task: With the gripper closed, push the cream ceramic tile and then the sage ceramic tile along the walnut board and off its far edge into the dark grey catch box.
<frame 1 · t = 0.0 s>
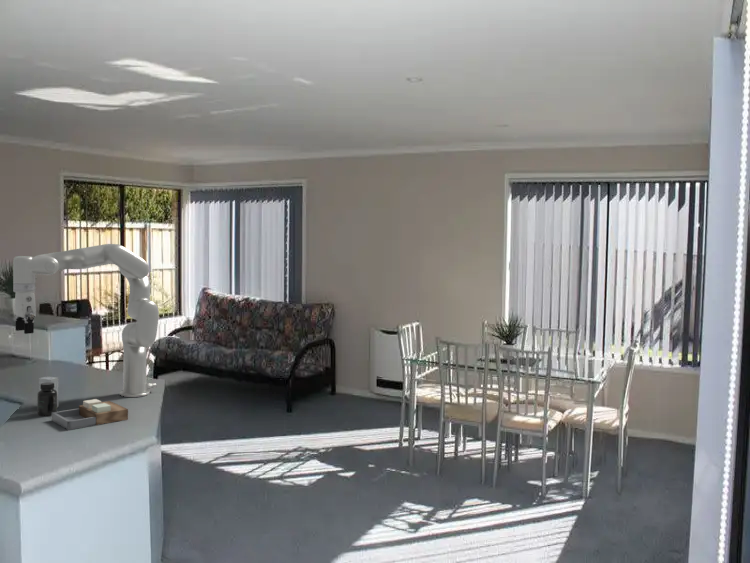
hand: (24, 331, 254), 31 cm above the table, tool pointing down, fingers open, 9 cm apart
catch box: (73, 422, 242), on the table
tile sage: (101, 410, 245), point 4 cm above the table, touching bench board
supplement bottle: (47, 414, 253), on the table
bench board: (103, 417, 250), on the table
tile cream: (92, 406, 251), point 4 cm above the table, touching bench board
skincare box: (48, 407, 262), on the table
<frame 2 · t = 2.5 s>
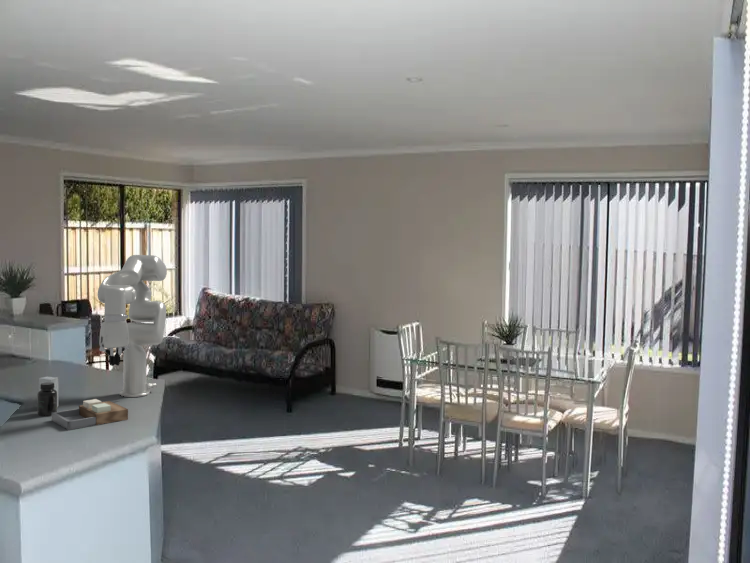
hand: (114, 364, 256), 19 cm above the table, tool pointing down, fingers closed
nothing on the table moved.
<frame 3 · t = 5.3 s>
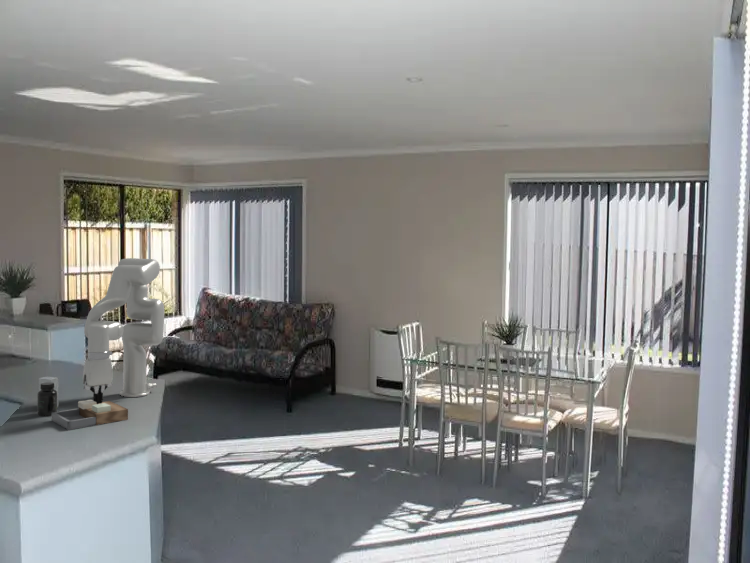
hand: (98, 402, 252), 5 cm above the table, tool pointing down, fingers closed
tile cream: (87, 407, 250), point 4 cm above the table, touching gripper
everything else where it was.
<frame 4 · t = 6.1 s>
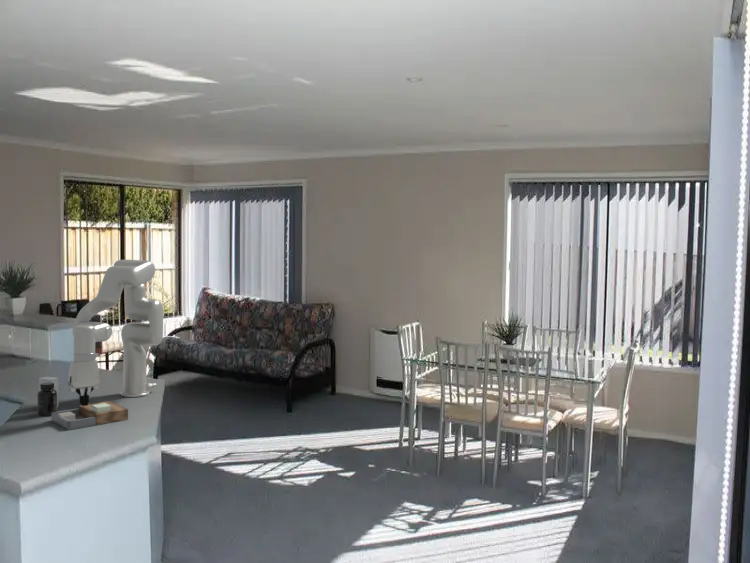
hand: (84, 405, 249), 5 cm above the table, tool pointing down, fingers closed
tile cream: (65, 414, 244), point 3 cm above the table, tilted 180°, touching catch box
everything else where it was.
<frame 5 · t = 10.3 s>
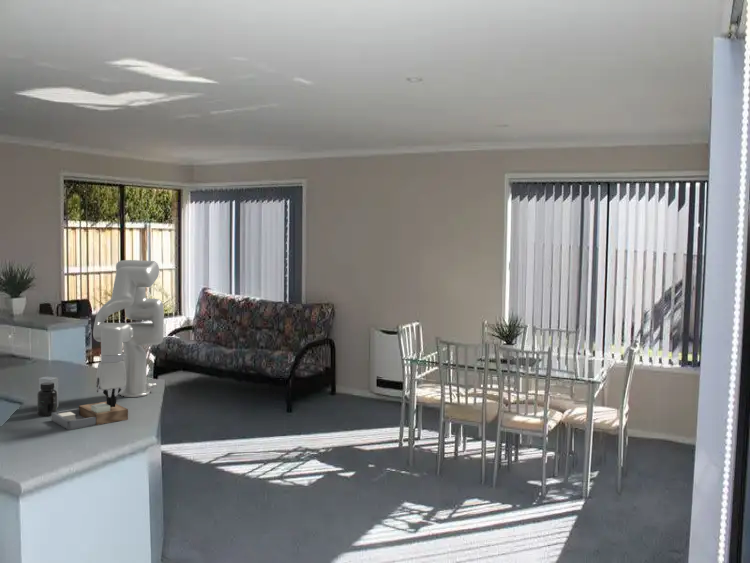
hand: (111, 406, 248), 5 cm above the table, tool pointing down, fingers closed
tile sage: (100, 410, 245), point 4 cm above the table, touching gripper
everything else where it was.
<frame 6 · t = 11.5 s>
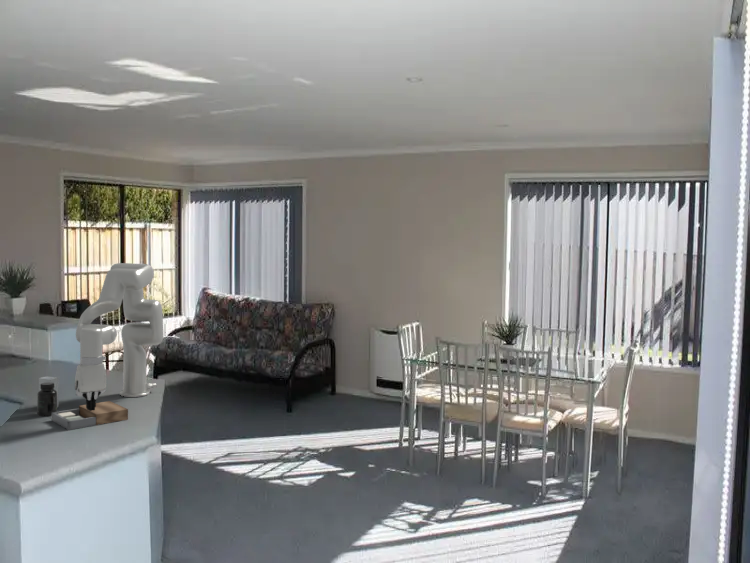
hand: (90, 409, 243), 5 cm above the table, tool pointing down, fingers closed
tile sage: (74, 418, 239), point 3 cm above the table, tilted 180°, touching catch box
everything else where it was.
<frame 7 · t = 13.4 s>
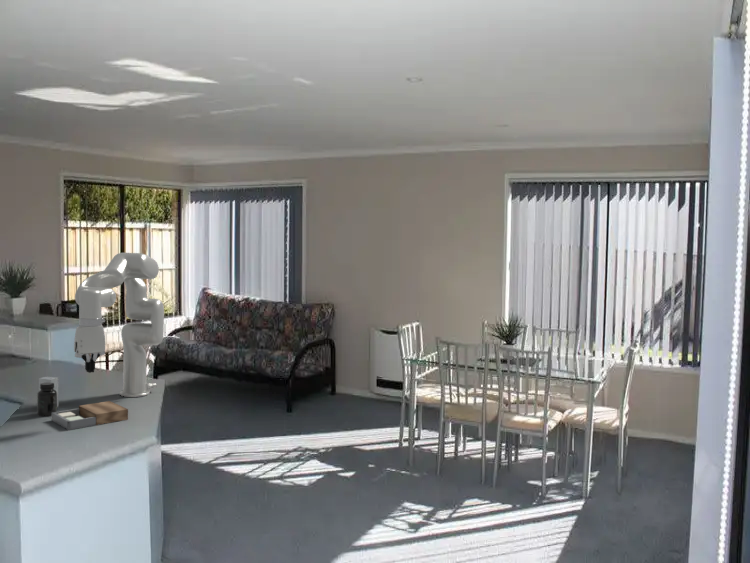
hand: (90, 371, 242), 19 cm above the table, tool pointing down, fingers closed
nothing on the table moved.
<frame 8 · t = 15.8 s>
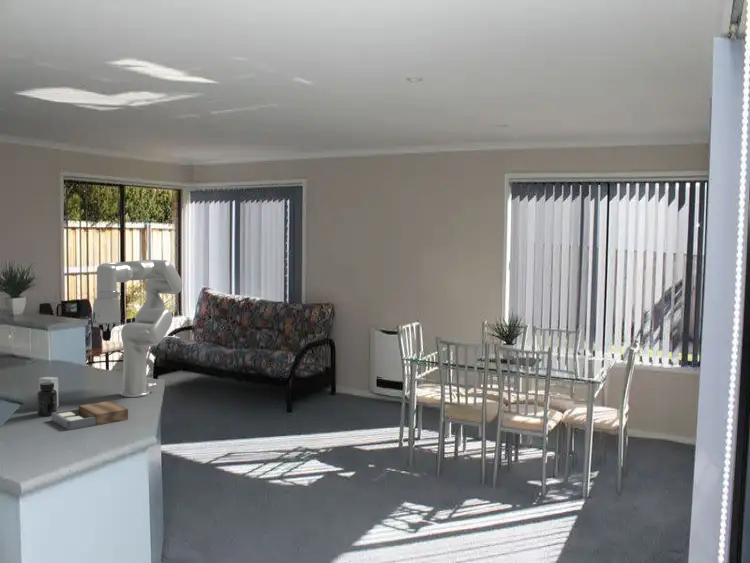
hand: (106, 340, 265), 27 cm above the table, tool pointing down, fingers closed
nothing on the table moved.
at the end: tile cream inside the target area on the catch box (4.3 cm from its centre), point 2.6 cm above the catch box's base; tile sage inside the target area on the catch box (3.7 cm from its centre), point 2.6 cm above the catch box's base; the gripper is holding nothing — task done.
